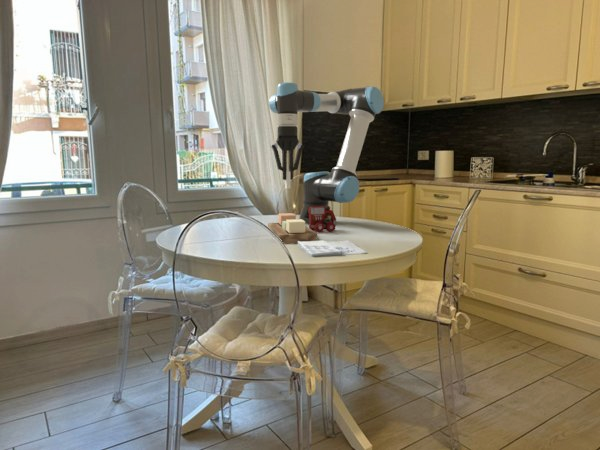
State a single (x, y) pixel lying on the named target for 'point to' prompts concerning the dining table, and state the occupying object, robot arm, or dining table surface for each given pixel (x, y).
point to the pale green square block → (284, 225)
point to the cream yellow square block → (295, 226)
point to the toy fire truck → (321, 219)
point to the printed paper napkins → (330, 248)
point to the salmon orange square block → (285, 217)
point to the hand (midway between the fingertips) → (287, 188)
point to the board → (292, 234)
